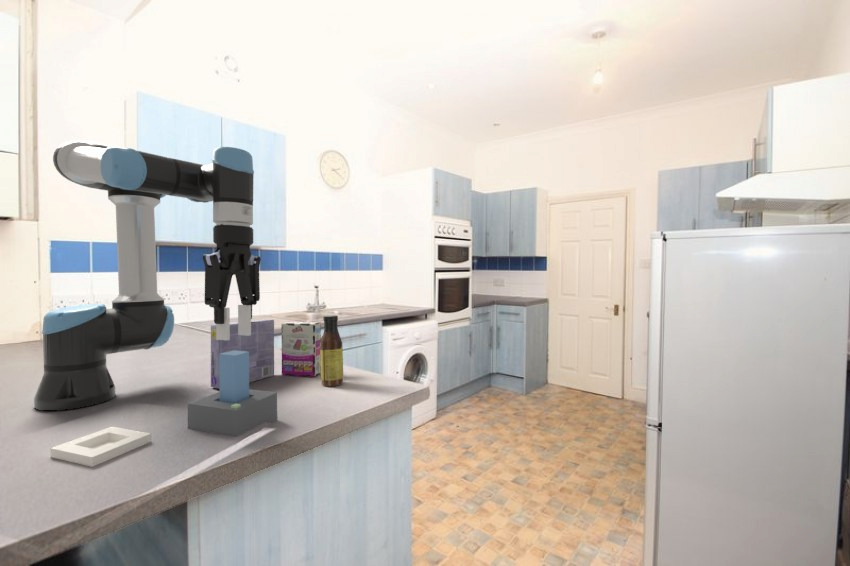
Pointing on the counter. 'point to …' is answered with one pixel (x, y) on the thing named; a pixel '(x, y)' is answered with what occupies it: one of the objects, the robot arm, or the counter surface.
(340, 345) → the sauce bottle
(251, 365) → the cake pan box
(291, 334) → the candy bar box
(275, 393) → the port
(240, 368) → the plug
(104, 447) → the holster
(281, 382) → the counter surface
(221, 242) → the robot arm
